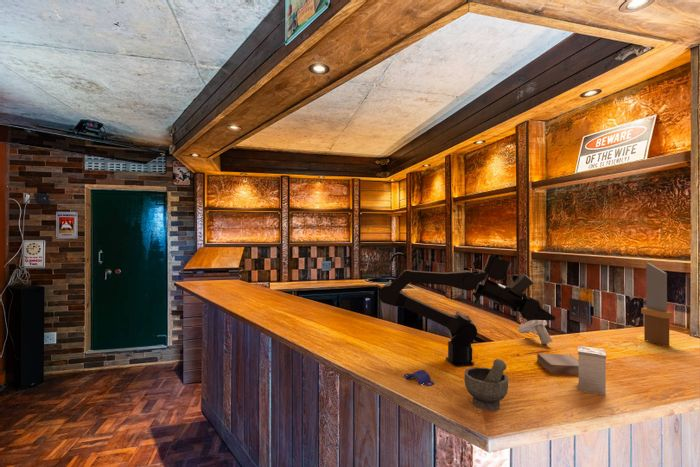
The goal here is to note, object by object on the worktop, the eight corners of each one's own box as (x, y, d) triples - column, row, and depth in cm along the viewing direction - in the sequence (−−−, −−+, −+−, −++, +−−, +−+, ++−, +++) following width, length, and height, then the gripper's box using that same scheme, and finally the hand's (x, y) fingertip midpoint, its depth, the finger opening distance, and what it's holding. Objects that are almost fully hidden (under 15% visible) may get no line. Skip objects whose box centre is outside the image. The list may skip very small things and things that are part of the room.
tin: (578, 390, 89) (578, 351, 89) (578, 382, 94) (578, 345, 94) (606, 396, 86) (606, 355, 86) (604, 387, 91) (604, 349, 91)
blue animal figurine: (437, 384, 93) (437, 375, 93) (427, 389, 90) (427, 379, 90) (409, 374, 100) (409, 365, 100) (399, 379, 97) (399, 369, 97)
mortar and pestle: (456, 397, 85) (456, 347, 85) (490, 393, 87) (490, 345, 87) (484, 420, 74) (484, 364, 74) (522, 415, 76) (522, 360, 76)
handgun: (555, 342, 124) (550, 312, 129) (544, 341, 124) (539, 311, 129) (528, 351, 142) (524, 324, 146) (518, 350, 142) (515, 323, 147)
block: (550, 374, 100) (550, 364, 100) (537, 362, 110) (537, 353, 110) (588, 377, 99) (588, 366, 99) (571, 364, 109) (571, 354, 109)
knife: (641, 339, 135) (641, 262, 135) (649, 339, 135) (649, 262, 136) (664, 346, 126) (664, 264, 127) (672, 346, 127) (672, 264, 127)
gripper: (517, 272, 97) (574, 296, 94) (501, 266, 115) (549, 286, 112) (500, 308, 98) (556, 333, 95) (487, 297, 116) (534, 317, 113)
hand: (549, 315), depth 104 cm, fingers open, 9 cm apart
